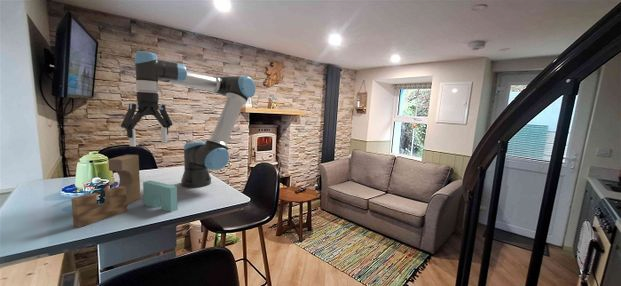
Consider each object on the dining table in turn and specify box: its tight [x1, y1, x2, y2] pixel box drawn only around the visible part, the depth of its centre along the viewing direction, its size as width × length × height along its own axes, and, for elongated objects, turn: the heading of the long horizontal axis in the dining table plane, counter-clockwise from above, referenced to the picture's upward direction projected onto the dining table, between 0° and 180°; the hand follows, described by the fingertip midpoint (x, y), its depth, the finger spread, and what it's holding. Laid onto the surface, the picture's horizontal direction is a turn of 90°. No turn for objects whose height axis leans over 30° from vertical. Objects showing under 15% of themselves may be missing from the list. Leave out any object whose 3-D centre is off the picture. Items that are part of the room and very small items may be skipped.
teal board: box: [142, 180, 178, 213], centre depth 107 cm, size 16×3×10 cm, turn 68°
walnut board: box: [71, 185, 128, 229], centre depth 95 cm, size 16×3×10 cm, turn 158°
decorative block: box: [107, 154, 141, 206], centre depth 110 cm, size 11×6×20 cm, turn 179°
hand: (149, 144), depth 106 cm, fingers open, 13 cm apart
